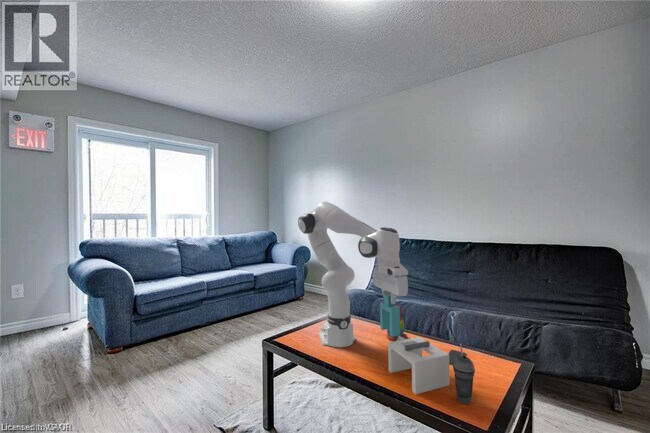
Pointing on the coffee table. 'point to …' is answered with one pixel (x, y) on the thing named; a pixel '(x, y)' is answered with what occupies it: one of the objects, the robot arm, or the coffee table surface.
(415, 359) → the shelf
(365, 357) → the coffee table surface
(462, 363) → the beverage cup
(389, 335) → the stacking bear
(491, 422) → the coffee table surface
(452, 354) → the smartphone
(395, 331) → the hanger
